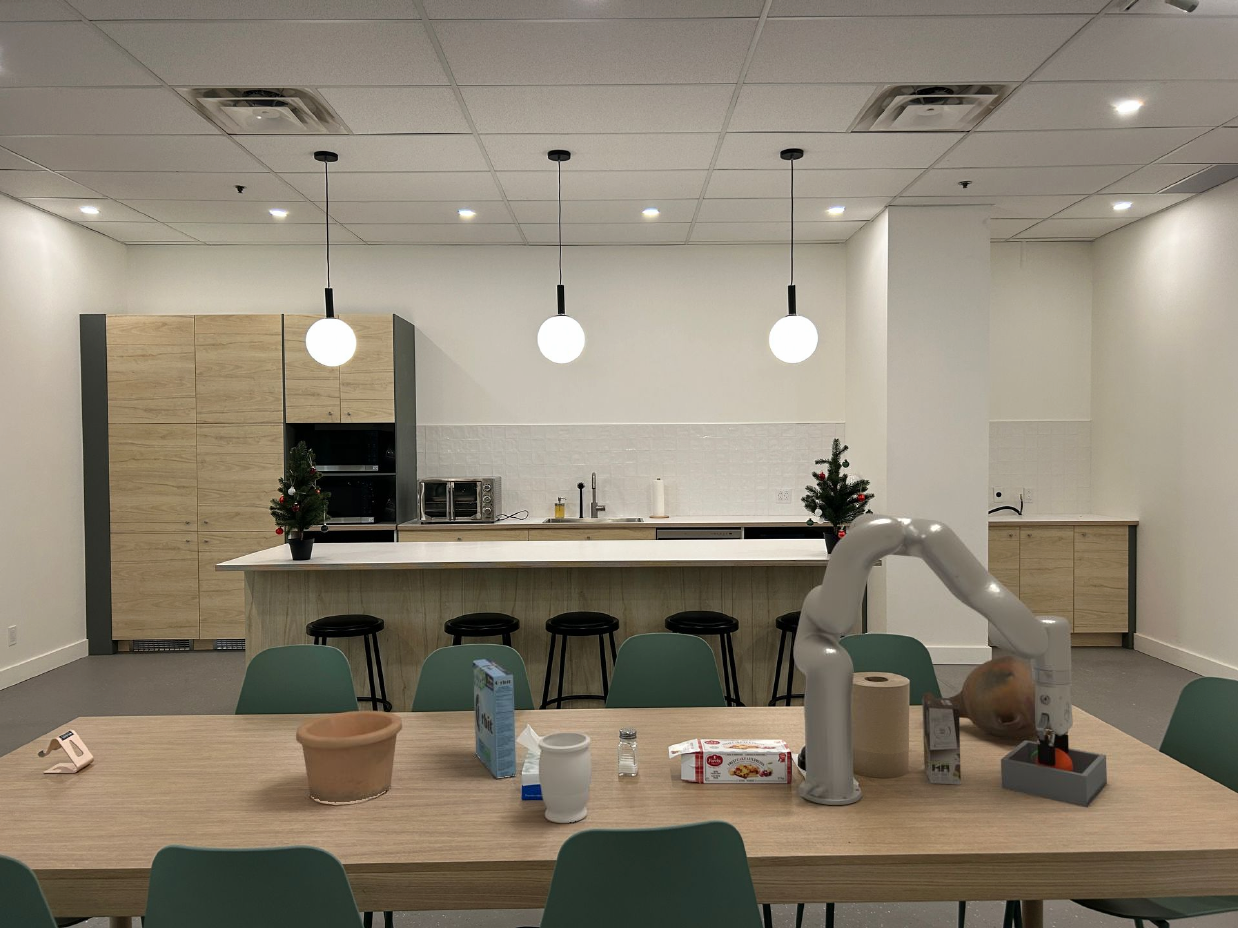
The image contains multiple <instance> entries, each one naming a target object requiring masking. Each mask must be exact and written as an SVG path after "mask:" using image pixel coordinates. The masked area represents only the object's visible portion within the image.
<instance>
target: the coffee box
mask: <svg viewBox="0 0 1238 928" xmlns="http://www.w3.org/2000/svg"><path fill="white" fill-rule="evenodd" d="M921 700H922V730H923V733H922V734H923V735H922V737H923V758H924V761H923V762H924V763H923V765H924V772H925V773H926V775H927V777H928V780H929V781H930V783H931V784H941V785H942V784H943V785H955V786H956V785H959V786H960V785H961V781H962V780H961V779H962V778H961V776H962V775H961V772H962V771H961V770H962V769H961V739H960V738H961V737H960V735H961V729H960V726H961V725H960V718H959V708H958V706H957V705H956V704H955V703H954V701H953V700H952V699H951V698H950V697H935V698H924V697H922V699H921Z"/></svg>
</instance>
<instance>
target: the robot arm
mask: <svg viewBox="0 0 1238 928" xmlns="http://www.w3.org/2000/svg"><path fill="white" fill-rule="evenodd" d="M890 555H892V556H900V557H901V556H902V557H912V558H913V557H914V558H918V559H922V561H923V562H924V563H925V564H926V565H927V567H928V568H930V569H931V571H932V572H933V573H934V574H935V575H936V577H938V580H940V581H941V582H942V584H943V585H944V586H945V587H946V588H947V589H948V591H949V592H950V594H952V595H953V596H954V597H955V598H956V599H957V600H959V602H960V603H962V604H964V605H965V606H967V607H968V608H970V609H972V610H973V611H974V612H977V613H978V614H980V615H981V616H982V617H983V618H985V619H986V620H987V621H988V622H989V624H988V627H987V635H988V638H989V640H990V642H992V644H993V645H994V646H996V647H997V648H999V649H1001V650H1003V651H1005V652H1007V653H1011V654H1013V655H1015V656H1018V657H1020V658H1022V659H1027V660H1030V664H1031V665H1030V667H1031V669H1030V670H1031V676H1032V683H1034V684H1036V693H1035V723H1036V730H1037V732H1038V735H1036V739H1037V741H1036V742H1037V744H1038V763H1040V764H1044V765H1049V766H1055V765H1056V760H1055V748H1057V749H1060V750H1062V751H1063V752H1065V753H1066V754H1067V753H1069V748H1070V746H1069V743H1070V742H1069V730H1071V728H1072V727H1073V725H1074V724H1073V723H1074V720H1073V706H1072V696H1071V689H1070V687H1071V686H1073V682H1072V647H1071V646H1072V643H1071V641H1072V640H1071V625H1070V622H1069V620H1068V619H1066V618H1065V617H1062V616H1057V615H1037V616H1036V615H1034V614H1033V613H1032V611H1031V610H1030V609H1029V608H1028V606H1027V605H1025V604H1024V603H1023V602H1022V600H1020V599H1019V597H1017V596H1016V595H1015V594H1014V593H1013V592H1011V591H1010V589H1008V588H1007V587H1006V586H1005V585H1004V584H1002V583H1001V582H1000V580H998V578H996V577H995V576H994V575H992V573H991V572H989V571H988V570H987V569H986V567H984V566H983V564H982V563H981V562H980V561H979V559H978V558H977V557H976V556H975V555H974V554H973V552H972V551H971V550H970V549H969V547H968V546H966V544H965V543H964V542H963V541H962V540H961V539H960V537H959V536H958V535H957V534H956V532H954V530H953V529H952V528H950V526H949V525H947V524H945V523H944V522H941V521H939V520H938V521H937V520H932V519H926V518H925V519H924V518H912V517H911V518H910V517H900V516H893V515H885V514H877V513H862V514H860V515H858V516H856V517H855V518H854V519H853V520H852V521H851V523H850V525H849V528H848V532H847V533H845V534H844V536H842V537H841V538H840V539H839V541H837V543H836V544H835V546H834V547H833V549H832V551H831V553H830V556H829V559H828V562H827V565H826V569H825V573H824V576H823V580H822V584H821V585H817V586H816V587H814V588H812V589H811V591H809V592H808V593H807V595H806V596H805V598H804V601H803V603H802V607H801V612H800V615H799V620H798V626H797V629H796V635H795V639H794V644H793V660H794V663H795V666H796V667H797V668H798V670H799V671H800V672H801V673H802V674H803V675H804V676H805V690H804V703H803V704H804V707H803V708H804V709H803V710H804V712H803V713H804V738H805V740H804V741H805V746H804V747H805V780H804V781H802V782H801V783H800V784H799V786H798V787H797V795H799V797H801V798H804V799H805V800H808V801H810V802H812V803H815V804H821V805H826V806H827V805H829V806H840V805H841V806H843V805H844V806H845V805H850V804H854V803H855V802H858V801H859V800H860V799H861V798H862V795H863V794H862V789H861V787H859V785H858V784H855V783H854V755H853V753H854V751H853V750H854V749H853V745H854V744H853V719H852V718H853V716H852V711H853V710H852V697H853V695H852V694H853V686H854V676H855V671H854V664H853V661H852V660H853V659H852V658H851V655H850V654H849V653H848V651H847V650H846V649H845V648H844V647H843V646H842V645H841V644H840V638H841V637H842V636H847V635H849V634H851V633H852V632H853V631H854V630H855V629H856V628H857V625H858V623H859V619H860V616H861V615H860V614H861V612H862V611H861V610H862V607H863V605H862V604H863V600H864V595H865V592H866V591H865V589H866V586H867V582H868V579H869V576H870V573H871V571H872V569H873V567H874V566H875V565H876V564H877V562H878V561H880V560H881V559H883V558H885V557H887V556H890Z"/></svg>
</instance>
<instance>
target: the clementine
mask: <svg viewBox="0 0 1238 928" xmlns="http://www.w3.org/2000/svg"><path fill="white" fill-rule="evenodd" d="M1036 752H1038V750H1037V751H1035V752H1034V753H1033V754H1035V753H1036ZM1033 754H1032V755H1033ZM1031 757H1032V756H1031ZM1030 759H1031V758H1030ZM1055 760H1056V765H1055V766H1049V765H1044V764H1040V763H1038V756H1037V758H1036V765H1040V766H1045V767H1050V768H1055V769H1060V770H1065V771H1070V772H1073V764H1072V761H1071V759H1070V757H1069V756H1068V755H1067V754H1066V753H1065V752H1063V751H1062V750H1060V749H1057V748H1055Z"/></svg>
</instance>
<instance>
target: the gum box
mask: <svg viewBox="0 0 1238 928" xmlns="http://www.w3.org/2000/svg"><path fill="white" fill-rule="evenodd" d="M472 668H473V670H472V672H473V674H472V675H473V696H474V697H473V698H474V699H473V702H474V704H473V705H474V731H475V754H476V753H477V755H478V756H479V757H480V759H481V760H482V761H483V762H482V761H481V760H480V759H479V760H480V761H481V762H482V764H483V763H484V764H485V765H486V766H487V767H486V766H485V765H484V764H483V765H484V766H485V767H486V768H487V770H488V769H489V770H490V771H491V772H492V773H491V772H490V771H489V770H488V771H489V772H490V773H491V775H492V774H493V775H494V776H495V777H496V778H498V777H505V776H513V775H514V777H516V776H517V760H516V758H517V753H516V728H515V727H516V722H515V721H516V720H515V698H514V694H515V693H514V692H515V691H514V674H513V673H511V672H510V671H508V670H507V669H505V668H504V667H502V666H501V665H500V664H499V663H497V662H496V661H494V660H493V659H492V658H483V659H477V660H473V661H472ZM477 755H476V756H477ZM478 756H477V757H478ZM479 757H478V758H479ZM493 775H492V776H493ZM515 775H516V776H515ZM494 776H493V777H494ZM495 777H494V778H495ZM496 778H495V779H496Z"/></svg>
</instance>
